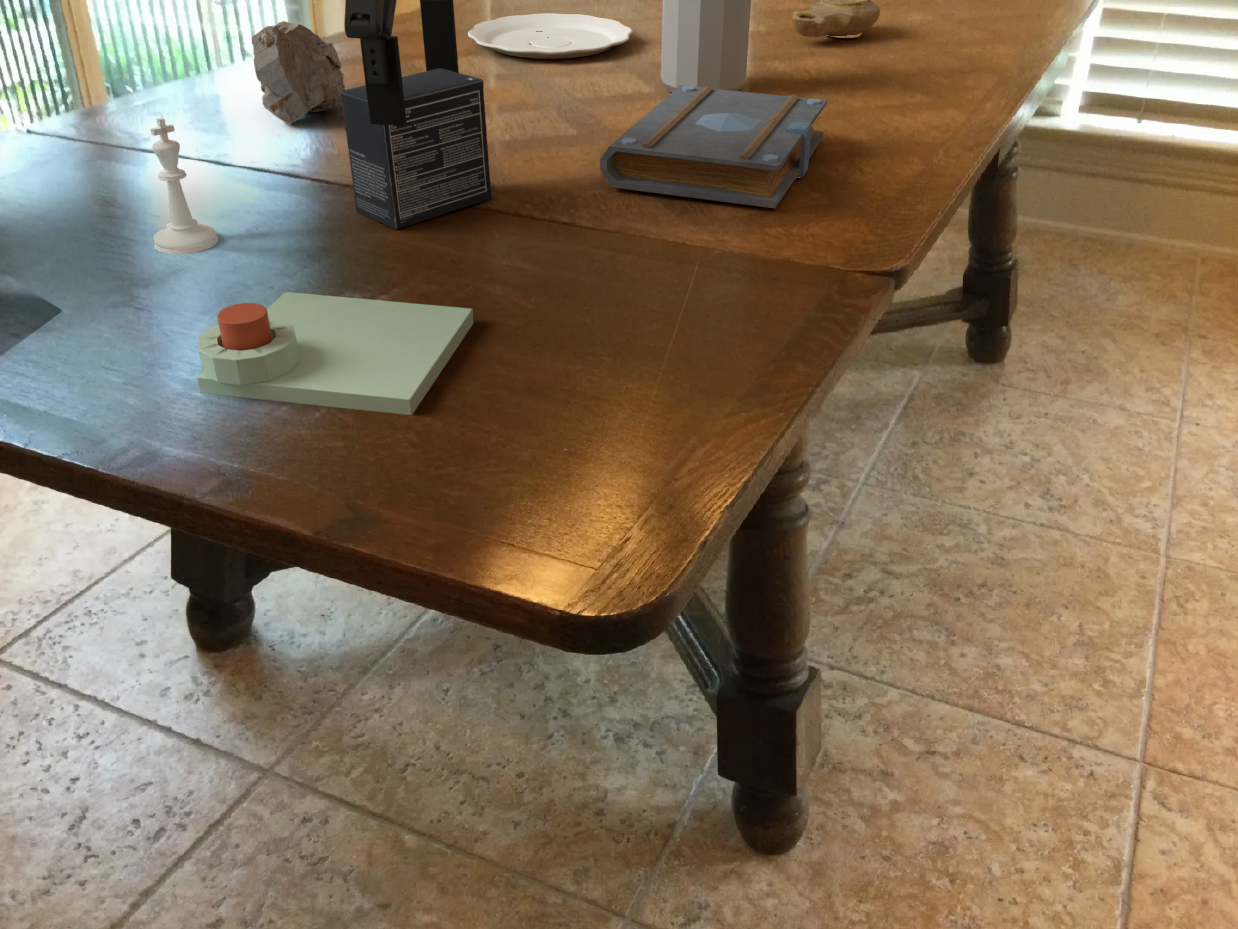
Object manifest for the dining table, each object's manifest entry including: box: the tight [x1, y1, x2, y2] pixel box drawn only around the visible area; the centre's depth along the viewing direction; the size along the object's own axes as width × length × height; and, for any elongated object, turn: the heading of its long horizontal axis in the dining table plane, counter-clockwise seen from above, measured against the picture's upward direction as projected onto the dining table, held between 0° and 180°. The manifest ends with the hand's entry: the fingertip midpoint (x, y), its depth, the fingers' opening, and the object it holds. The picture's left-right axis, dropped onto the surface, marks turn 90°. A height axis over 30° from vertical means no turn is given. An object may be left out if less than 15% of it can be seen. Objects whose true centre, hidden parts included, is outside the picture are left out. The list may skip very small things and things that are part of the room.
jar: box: [660, 0, 752, 93], centre depth 127 cm, size 10×10×18 cm
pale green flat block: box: [196, 291, 474, 416], centre depth 76 cm, size 14×13×3 cm
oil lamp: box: [791, 0, 881, 38], centre depth 152 cm, size 11×14×5 cm
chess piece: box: [150, 117, 219, 255], centre depth 91 cm, size 5×5×10 cm
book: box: [599, 85, 828, 209], centre depth 109 cm, size 21×16×5 cm
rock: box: [251, 20, 346, 125], centre depth 120 cm, size 9×12×10 cm
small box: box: [340, 68, 493, 230], centre depth 98 cm, size 11×6×10 cm, turn 135°
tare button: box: [216, 302, 272, 351], centre depth 72 cm, size 3×3×2 cm
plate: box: [467, 12, 633, 60], centre depth 149 cm, size 21×21×2 cm
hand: (417, 99), depth 96 cm, fingers open, 13 cm apart
